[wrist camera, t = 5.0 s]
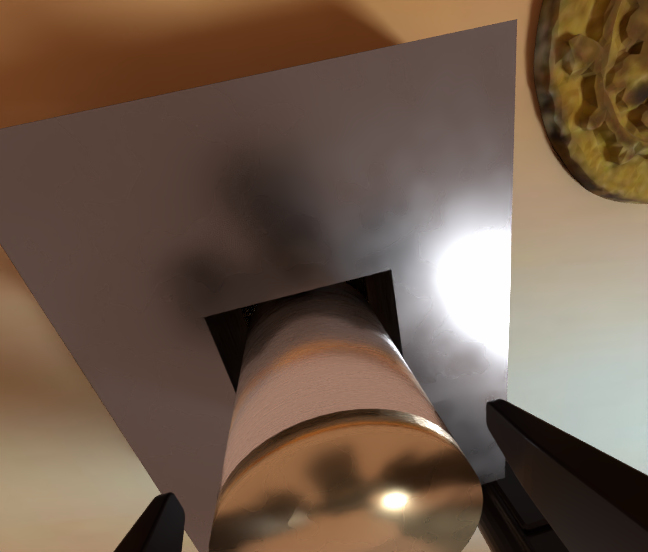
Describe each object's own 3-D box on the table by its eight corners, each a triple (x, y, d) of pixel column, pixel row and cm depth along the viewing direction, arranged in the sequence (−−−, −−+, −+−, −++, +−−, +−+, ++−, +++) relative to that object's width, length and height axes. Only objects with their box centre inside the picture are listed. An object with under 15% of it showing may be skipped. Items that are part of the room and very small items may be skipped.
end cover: (382, 369, 15) (484, 571, 8) (268, 401, 15) (258, 642, 8) (364, 261, 13) (482, 397, 6) (229, 295, 13) (158, 488, 5)
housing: (454, 407, 21) (504, 477, 16) (224, 472, 20) (208, 566, 15) (433, 69, 13) (517, 19, 9) (63, 150, 12) (-65, 142, 8)
